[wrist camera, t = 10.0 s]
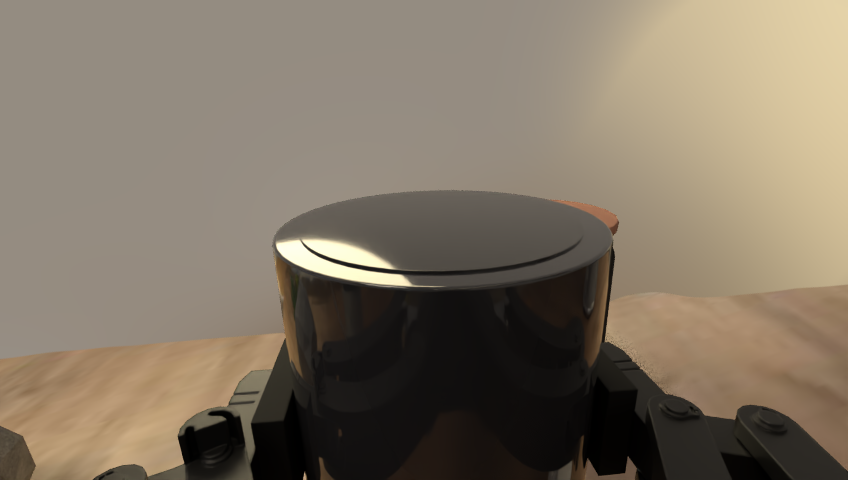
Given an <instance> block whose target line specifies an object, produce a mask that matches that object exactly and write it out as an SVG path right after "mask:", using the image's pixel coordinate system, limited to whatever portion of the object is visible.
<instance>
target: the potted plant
mask: <svg viewBox="0 0 848 480" xmlns="http://www.w3.org/2000/svg"><path fill="white" fill-rule="evenodd" d="M35 467H36V465H35V463H34V461H33V458H32V456H31V454H30V452H29V449H28V447H27V445H26V442H25V440H24V438H23V436H21V435H19V434H17V433H15V432H12V431H10V430H8V429H6V428H3V427H1V426H0V480H30V478H31V476H32V474H33V471H34V469H35Z"/></svg>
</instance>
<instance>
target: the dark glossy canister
mask: <svg viewBox="0 0 848 480" xmlns="http://www.w3.org/2000/svg"><path fill="white" fill-rule="evenodd" d="M272 246H273V253H274V260H275V266H276V274H277V281H278V287H279V295H280V302H281V309H282V316H283V322H284V329H285V337H286V344H287V351H288V358H289V365H290V372H291V378H292V385H293V392H294V399H295V406H296V413H297V420H298V427H299V434H300V441H301V448H302V455H303V462H304V469H305V476H306V480H585V476H586V467H587V459H588V450H589V442H590V434H591V425H592V417H593V408H594V400H595V392H596V383H597V375H598V366H599V358H600V350H601V341H602V333H603V324H604V316H605V308H606V299H607V291H608V283H609V274H610V266H611V257H612V249H613V235H612V232H611V230H610V229H609V227H608V226H607V225H606V224H605V223H604V222H603V221H602V220H600V219H599V218H597V217H595V216H594V215H592V214H590V213H588V212H586V211H583V210H581V209H578V208H575V207H573V206H570V205H566V204H563V203H559V202H555V201H551V200H547V199H542V198H536V197H530V196H523V195H517V194H507V193H498V192H485V191H457V190H456V191H455V190H452V191H450V190H449V191H448V190H447V191H416V192H403V193H392V194H383V195H375V196H369V197H362V198H357V199H352V200H347V201H342V202H338V203H334V204H330V205H326V206H323V207H320V208H317V209H314V210H311V211H309V212H307V213H304V214H302V215H300V216H298V217H296V218H293V219H292V220H290V221H289V222H287V223H286V224H284V225H283V226H282V227H281V228H280V229H279V230H278V231H277V233H276V234H275V236H274V239H273V245H272Z"/></svg>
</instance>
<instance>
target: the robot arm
mask: <svg viewBox="0 0 848 480" xmlns="http://www.w3.org/2000/svg"><path fill="white" fill-rule="evenodd" d="M178 440H179V444H180V448H181V452H182V456H183V460H184V464H183V465H180V466H178V467H175V468H173V469H170V470H167V471H164V472H161V473H158V474H155V475H152V476H149V477H147V473H146V472H145V470H144V468H143V467H141V466H138V465H135V464H133V465H122V466H119V467H116V468H113V469H110V470H108V471H106V472H104V473H102V474H100V475H99V476H97V477H95V478H94V479H93V480H303V477H304V472H305V469H304V462H303V455H302V448H301V441H300V434H299V427H298V420H297V413H296V406H295V399H294V392H293V385H292V378H291V372H290V365H289V358H288V351H287V344H286V338H285V340H284V342H283V345H282V347H281V350H280V352H279V355H278V357H277V360H276V362H275V365H274V367H273V369H270V370H258V371H251V372H250V373H249V374H248V375H246V376H245V377H244V378H243V379H242V380H241V381H240V382H239V384H238V386H237V388H236V390H235V392H234V395H233V396H232V397H231V399H230V401H229V405H228V406H227V407H215V408H211V409H207V410H205V411H202V412H200V413H198V414H196V415H194V416H193V417H192V418H190V419H189V420H187V421H186V422H185V424H184V425H183V426H182V427H181V428H180V431H179V434H178ZM628 456H629V458H630V459H631V461H632V462H633V463H634V465H635V466H636V468H637V471H636V477H635V480H848V471H847V470H846V469H845V468H843V467H842V466H841V465H840V464H839V463H838V462H837V461H836V460H835V459H834V458H833V457H832V456H831V455H830V454H829V453H828V452H827V451H826V450H825V449H823V448H822V447H821V446H820V445H819V444H818V443H817V442H816V441H815V440H814V439H813V438H812V437H811V436H810V435H809V434H808V433H807V432H806V431H804V430H803V429H802V428H801V427H800V426H799V425H798V424H797V423H796V422H794V421H793V420H792V419H790V418H789V417H788V416H786V415H784V414H782V413H780V412H778V411H776V410H773V409H769V408H767V407H763V406H756V405H747V406H742V407H741V408H739V409H738V411H737V415H736V419H735V420H732V419H725V418H717V417H710V416H705V415H704V414H703V413H702V411H701V410H700V409H699V408H698V407H697V406H695V405H694V404H693V403H691V402H689V401H687V400H685V399H683V398H681V397H677V396H673V395H666V394H665V393H664V392H663V391H662V390H661V389H660V388H659V387H658V386H657V385H656V384H655V383H654V382H653V381H652V380H651V379H650V378H649V377H648V376H647V375H646V373H645V372H644V371H643V370H640V367H639V366H638V365H637V364H636V363H635V362H632V359H631V358H630V357H629V356H628V355H627V354H626V353H625V352H624V351H623V350H621V349H620V348H618V347H616V346H614V345H613V344H611V343H609V342H604V343H601V350H600V358H599V366H598V375H597V383H596V392H595V400H594V408H593V417H592V425H591V434H590V442H589V450H588V459H589V460H590V462H591V464H592V466H593V467H594V469H595V471H596V472H597V474H598V476H602V475H612V474H621V473H625V470H626V464H627V458H628Z"/></svg>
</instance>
